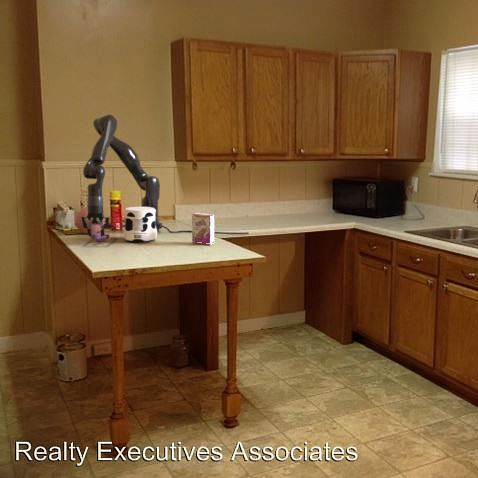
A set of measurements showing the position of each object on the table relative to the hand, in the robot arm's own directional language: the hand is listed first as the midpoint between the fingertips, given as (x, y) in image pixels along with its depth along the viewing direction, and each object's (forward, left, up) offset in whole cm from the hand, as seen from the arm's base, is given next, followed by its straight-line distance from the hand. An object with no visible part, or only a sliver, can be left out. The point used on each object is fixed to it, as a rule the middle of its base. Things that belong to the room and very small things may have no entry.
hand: (96, 236), depth 314 cm
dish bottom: (0, -8, -4) cm, 9 cm away
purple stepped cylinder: (0, 0, -1) cm, 1 cm away
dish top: (0, -15, -4) cm, 16 cm away
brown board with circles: (0, -8, -5) cm, 9 cm away
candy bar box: (-54, -8, -5) cm, 55 cm away
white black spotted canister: (-20, -12, -5) cm, 24 cm away
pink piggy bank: (+10, -28, -5) cm, 30 cm away
